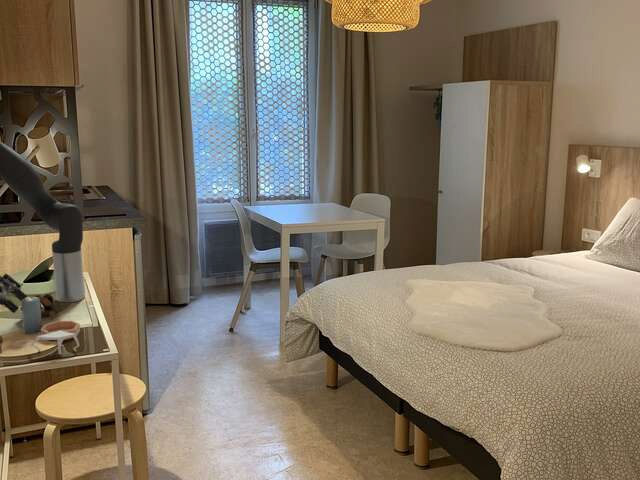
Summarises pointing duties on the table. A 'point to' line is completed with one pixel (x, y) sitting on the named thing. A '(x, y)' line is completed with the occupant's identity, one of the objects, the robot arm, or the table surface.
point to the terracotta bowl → (61, 327)
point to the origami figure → (56, 338)
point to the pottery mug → (47, 304)
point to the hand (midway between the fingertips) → (22, 305)
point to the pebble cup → (31, 315)
